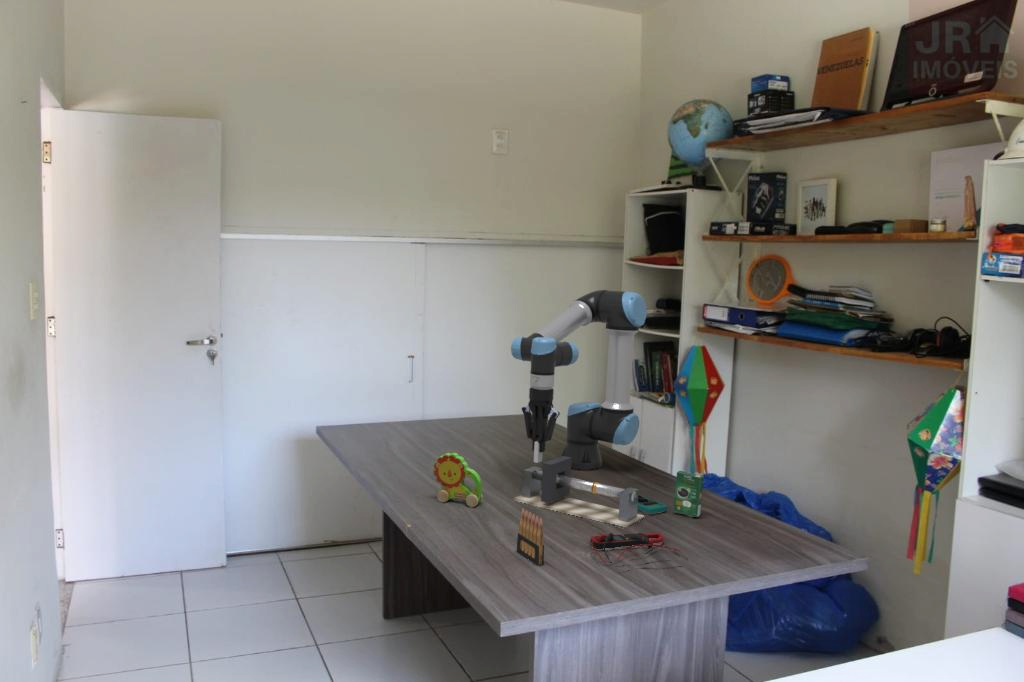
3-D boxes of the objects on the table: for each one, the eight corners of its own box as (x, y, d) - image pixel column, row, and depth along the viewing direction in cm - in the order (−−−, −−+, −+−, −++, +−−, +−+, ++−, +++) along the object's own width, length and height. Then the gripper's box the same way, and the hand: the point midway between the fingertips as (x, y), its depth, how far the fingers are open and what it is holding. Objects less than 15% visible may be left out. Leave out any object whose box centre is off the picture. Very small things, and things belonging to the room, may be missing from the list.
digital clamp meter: (575, 528, 230) (659, 523, 237) (574, 544, 230) (658, 539, 237) (609, 560, 207) (701, 553, 214) (608, 578, 208) (699, 570, 215)
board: (513, 500, 265) (513, 497, 265) (534, 492, 275) (535, 489, 275) (625, 528, 243) (625, 525, 243) (644, 518, 253) (644, 515, 253)
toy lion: (483, 503, 261) (485, 455, 259) (476, 508, 256) (478, 459, 254) (437, 496, 267) (438, 448, 265) (429, 500, 262) (431, 452, 260)
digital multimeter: (635, 500, 272) (636, 491, 272) (667, 513, 260) (668, 504, 260) (617, 503, 268) (618, 494, 268) (649, 517, 256) (649, 507, 256)
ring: (541, 501, 259) (542, 463, 258) (561, 492, 269) (563, 455, 267) (549, 503, 257) (551, 464, 256) (569, 494, 267) (571, 457, 266)
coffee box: (701, 517, 257) (704, 475, 255) (697, 519, 254) (700, 476, 253) (676, 511, 261) (679, 469, 260) (672, 513, 259) (675, 471, 257)
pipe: (522, 496, 267) (523, 469, 266) (532, 492, 271) (533, 465, 270) (627, 522, 246) (629, 492, 245) (636, 517, 251) (638, 488, 250)
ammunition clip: (516, 551, 222) (518, 507, 220) (522, 550, 222) (524, 506, 221) (537, 566, 212) (539, 519, 211) (543, 564, 213) (546, 518, 212)
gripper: (517, 386, 264) (514, 460, 266) (553, 391, 256) (549, 467, 259) (530, 383, 270) (527, 455, 272) (565, 388, 262) (561, 463, 265)
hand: (537, 461), depth 266 cm, fingers closed
